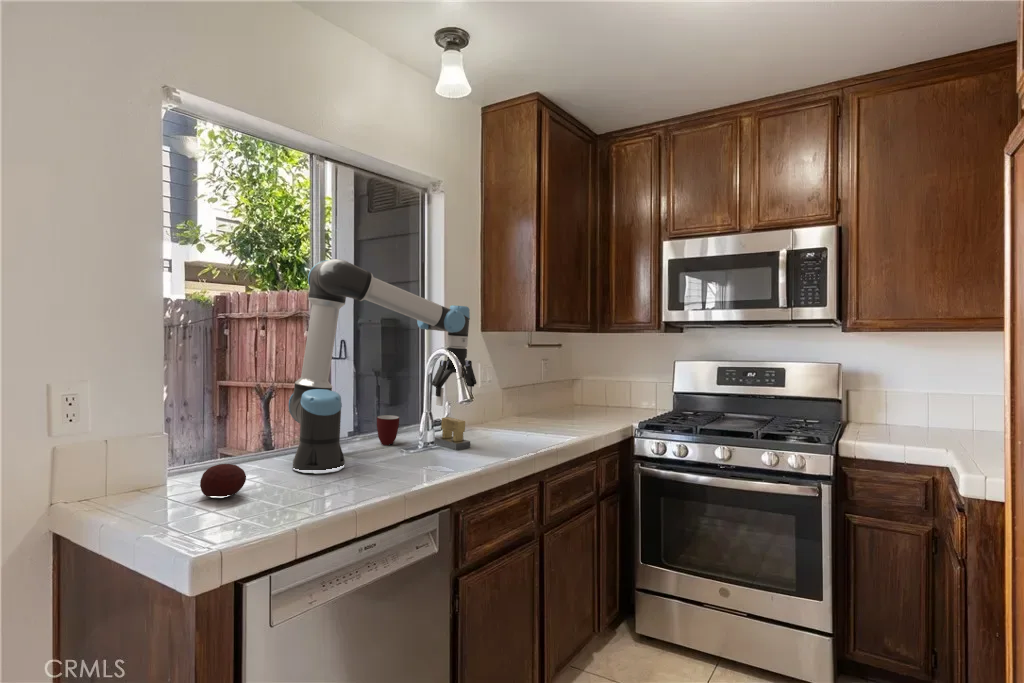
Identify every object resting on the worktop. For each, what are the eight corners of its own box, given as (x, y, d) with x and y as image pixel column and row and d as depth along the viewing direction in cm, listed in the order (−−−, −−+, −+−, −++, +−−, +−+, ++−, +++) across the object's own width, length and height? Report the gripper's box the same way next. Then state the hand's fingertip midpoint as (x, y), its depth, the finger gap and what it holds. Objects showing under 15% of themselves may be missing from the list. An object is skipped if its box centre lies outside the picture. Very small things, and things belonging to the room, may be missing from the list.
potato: (213, 488, 153) (214, 457, 152) (255, 491, 153) (256, 460, 152) (187, 502, 141) (188, 469, 141) (232, 505, 141) (234, 471, 141)
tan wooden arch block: (456, 449, 212) (458, 422, 211) (440, 444, 218) (441, 417, 217) (463, 447, 214) (465, 421, 214) (447, 443, 221) (448, 417, 220)
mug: (371, 440, 218) (372, 414, 217) (392, 439, 221) (394, 413, 221) (378, 447, 208) (380, 419, 208) (400, 445, 212) (402, 418, 211)
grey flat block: (455, 450, 210) (456, 443, 209) (434, 444, 218) (434, 437, 217) (470, 447, 215) (470, 441, 215) (448, 441, 223) (448, 435, 223)
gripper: (437, 347, 203) (433, 407, 203) (488, 348, 221) (484, 403, 222) (424, 346, 208) (420, 404, 209) (474, 347, 226) (470, 401, 227)
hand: (453, 404), depth 215 cm, fingers open, 13 cm apart
